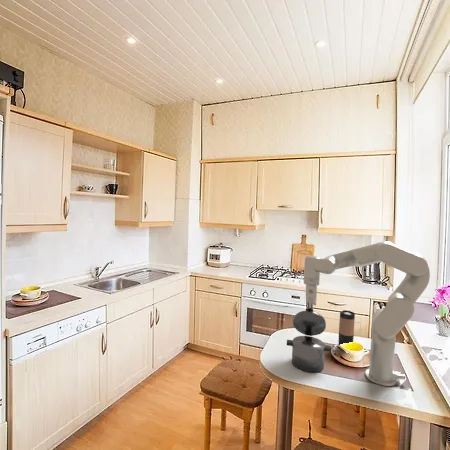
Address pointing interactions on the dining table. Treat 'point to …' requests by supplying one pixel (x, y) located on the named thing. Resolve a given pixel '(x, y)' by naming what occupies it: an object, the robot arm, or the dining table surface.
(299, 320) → the lid
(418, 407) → the dining table surface
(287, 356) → the dining table surface
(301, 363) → the cooker pot
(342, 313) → the travel mug
